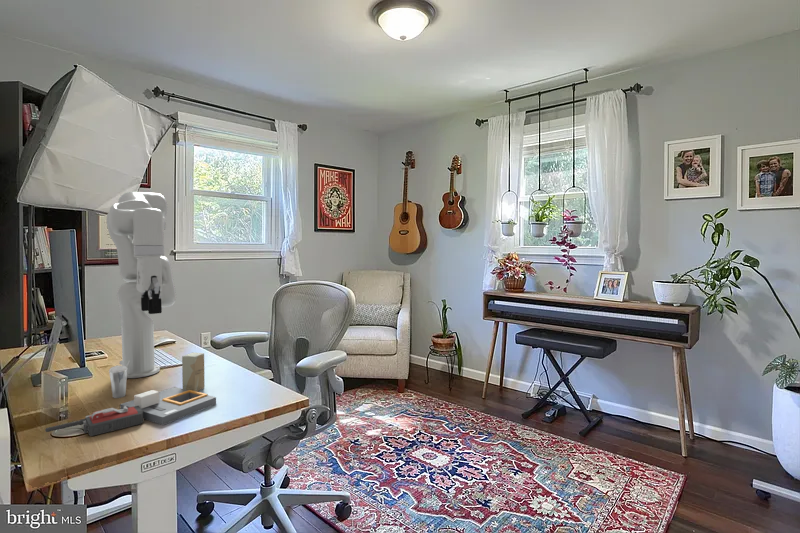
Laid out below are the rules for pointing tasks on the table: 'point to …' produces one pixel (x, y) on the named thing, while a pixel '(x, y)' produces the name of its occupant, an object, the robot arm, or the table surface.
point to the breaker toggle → (146, 399)
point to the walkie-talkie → (106, 420)
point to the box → (193, 371)
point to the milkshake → (118, 380)
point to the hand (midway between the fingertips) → (151, 311)
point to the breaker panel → (174, 405)
